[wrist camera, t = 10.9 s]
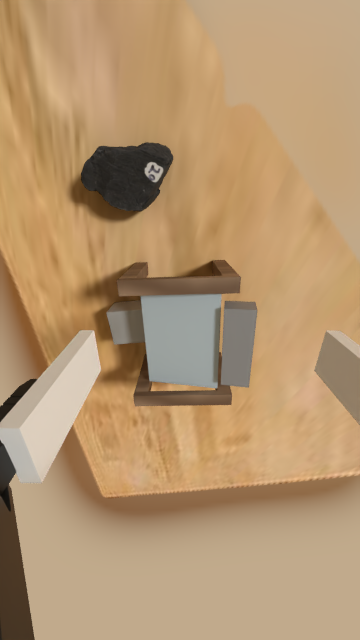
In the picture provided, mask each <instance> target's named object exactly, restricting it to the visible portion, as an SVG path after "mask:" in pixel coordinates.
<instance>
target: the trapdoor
mask: <svg viewBox="0 0 360 640" xmlns="http://www.w3.org/2000/svg"><path fill="white" fill-rule="evenodd" d="M141 305H142V314H143V324H144V333H145V343H146V352H147V361H148V371H149V380H150V381H154V382H163V383H173V384H182V385H191V386H200V387H210V388H217V386H218V364H219V340H220V316H221V294H186V295H148V296H141ZM256 317H257V307H256V303H255V302H239V301H225V307H224V327H223V348H222V369H221V385H229V386H239V387H249V381H250V372H251V363H252V354H253V345H254V336H255V327H256Z"/></svg>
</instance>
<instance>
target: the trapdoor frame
mask: <svg viewBox="0 0 360 640" xmlns="http://www.w3.org/2000/svg"><path fill="white" fill-rule="evenodd" d="M212 273H213V275H214V276H192V277H157V278H146V277H147V276H148V265H147V262H146V263H135V264H134V265H133V266H132V267H131V268H130V269H128V270H127V271H126V272H125V273H124V274H123V275H122V276H121V277H120V278H119V279H118V280H117V286H118V293H119V296H148V295H186V294H225V293H240V280H241V277H240V276H239V275H238V274H237V273H236V272H235V270H234V269H233V268H232V267H231V266H230V265H229V264H228V263H227V262H226V261H225V260H213V269H212ZM221 369H222V356H221V352H219V364H218V386H217V388H215V390H211V391H151V386H152V381H150V380H149V371H148V361H147V354H145V357H144V361H143V364H142V368H141V371H140V375H139V378H138V382H137V385H136V389H135V392H134V403H135V406H180V405H231V401H232V393H231V389H230V386H229V385H221Z"/></svg>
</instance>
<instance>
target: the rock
mask: <svg viewBox="0 0 360 640" xmlns="http://www.w3.org/2000/svg"><path fill="white" fill-rule="evenodd" d="M172 161H173V155H172V154H171V151H170V149H169V148H168V147H166V146H163V145H160V144H159V143H148V142H147V143H144V144H141V145H139V146H138V147H136V146H128V147H108V146H99V147H98V148H97V150H96V151H95V153H94V154H93V155H92V156H91V158H89V159H88V160H87V161H86V162H85V164H84V167H83V171H82V173H81V176H82V177H81V180H82V183H83V185H84V186H85V188H86V189H88V190H89V191H98V192H99V193H100V194H101V195H102V197H103V198H104V200H105V201H108V202H109V204H110V205H111V206H114V207H116V208H118V209H123V210H126V211H131V210H132V211H142V210H144V209H146V208H147V207H148V206H149V205H150V204H151V203H152V202H153V201H154V200H155V199H156V197H157V196H158V195H159V193H160V190H159V187H160V185H161V184H162V181H163V179H164V177H165V175H166V174H167V172H168V170H169V167H170V165H171V164H172Z"/></svg>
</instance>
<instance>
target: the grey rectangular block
mask: <svg viewBox="0 0 360 640" xmlns="http://www.w3.org/2000/svg"><path fill="white" fill-rule="evenodd" d="M106 313H107V317H108V321H109V325H110V329H111V333H112V338H113V342H114V344H127V343H141V342H145V333H144V324H143V314H142V305H141V300H138V301H126V302H115V303H114V304H113V305H112V306H111V308H110V309H109V310H108V311H107V312H106Z"/></svg>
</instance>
